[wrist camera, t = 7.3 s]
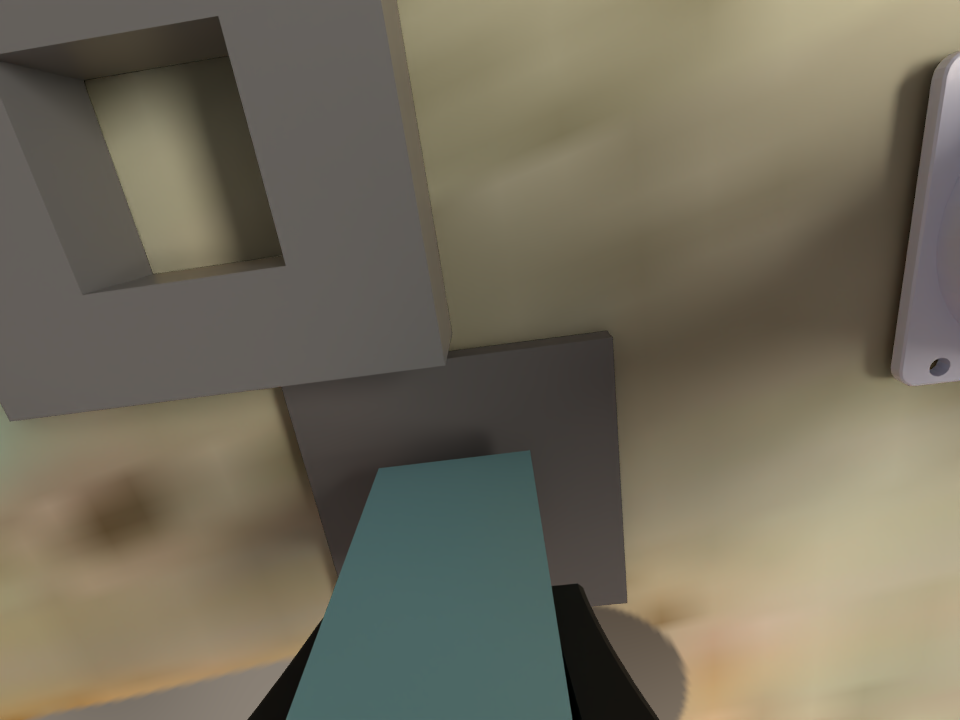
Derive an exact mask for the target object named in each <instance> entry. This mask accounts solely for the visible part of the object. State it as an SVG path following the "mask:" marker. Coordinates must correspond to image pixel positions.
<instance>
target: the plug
mask: <svg viewBox="0 0 960 720" xmlns="http://www.w3.org/2000/svg"><path fill="white" fill-rule="evenodd" d="M286 720H572V714H571V708H570V701H569V695H568V689H567V682H566V676H565V670H564V663H563V657H562V651H561V644H560V638H559V631H558V625H557V619H556V612H555V606H554V600H553V593H552V587H551V581H550V574H549V568H548V561H547V555H546V549H545V542H544V536H543V530H542V523H541V517H540V511H539V504H538V498H537V491H536V485H535V479H534V472H533V466H532V460H531V453H530V450H528V451H520V452H511V453H503V454H495V455H486V456H478V457H469V458H461V459H453V460H444V461H436V462H427V463H419V464H411V465H402V466H394V467H386V468H379V469H378V472H377V474H376V477H375V480H374V482H373V485H372V488H371V491H370V493H369V496H368V499H367V501H366V504H365V507H364V510H363V512H362V515H361V518H360V520H359V523H358V526H357V528H356V531H355V534H354V537H353V539H352V542H351V545H350V547H349V550H348V553H347V556H346V558H345V561H344V564H343V566H342V569H341V572H340V575H339V577H338V580H337V583H336V585H335V588H334V591H333V593H332V596H331V599H330V602H329V604H328V607H327V610H326V612H325V615H324V618H323V621H322V623H321V626H320V629H319V631H318V634H317V637H316V639H315V642H314V645H313V648H312V650H311V653H310V656H309V658H308V661H307V664H306V667H305V669H304V672H303V675H302V677H301V680H300V683H299V686H298V688H297V691H296V694H295V696H294V699H293V702H292V704H291V707H290V710H289V713H288V715H287V718H286Z"/></svg>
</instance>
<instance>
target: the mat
mask: <svg viewBox="0 0 960 720" xmlns="http://www.w3.org/2000/svg"><path fill="white" fill-rule="evenodd" d="M282 391H283V394H284V397H285V401H286V404H287V408H288V411H289V414H290V418H291V421H292V424H293V428H294V431H295V434H296V438H297V441H298V445H299V448H300V451H301V455H302V458H303V461H304V465H305V468H306V471H307V475H308V478H309V482H310V485H311V488H312V492H313V495H314V498H315V502H316V505H317V508H318V512H319V515H320V519H321V522H322V525H323V529H324V532H325V535H326V539H327V542H328V545H329V549H330V552H331V556H332V559H333V562H334V566H335V569H336V572H337V576H338V577H339V575H340V572H341V569H342V566H343V564H344V561H345V558H346V556H347V553H348V550H349V547H350V545H351V542H352V539H353V537H354V534H355V531H356V528H357V526H358V523H359V520H360V518H361V515H362V512H363V510H364V507H365V504H366V501H367V499H368V496H369V493H370V491H371V488H372V485H373V482H374V480H375V477H376V474H377V472H378V469H379V468H386V467H394V466H402V465H411V464H419V463H427V462H436V461H444V460H453V459H461V458H469V457H478V456H486V455H495V454H503V453H511V452H520V451H528V450H530V453H531V460H532V466H533V472H534V479H535V485H536V491H537V498H538V504H539V511H540V517H541V523H542V530H543V536H544V542H545V549H546V555H547V561H548V568H549V574H550V581H551V586H556V585H566V584H576V583H578V584H579V585H581V586H582V587H583V588H584V591H585V594H586V596H587V598H588V601H589V603H590V605H591V606H601V605H611V604H621V603H627V589H626V571H625V553H624V535H623V517H622V499H621V481H620V463H619V445H618V427H617V408H616V390H615V372H614V354H613V337H612V336H611V335H610V333H609V332H608V331H601V332H594V333H586V334H578V335H571V336H563V337H555V338H548V339H540V340H532V341H525V342H517V343H509V344H501V345H494V346H486V347H478V348H471V349H463V350H455V351H448V355H447V360H446V364H445V366H437V367H430V368H422V369H414V370H406V371H398V372H391V373H383V374H375V375H367V376H360V377H352V378H344V379H336V380H328V381H321V382H313V383H305V384H297V385H290V386H282Z"/></svg>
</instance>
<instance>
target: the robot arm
mask: <svg viewBox="0 0 960 720" xmlns="http://www.w3.org/2000/svg"><path fill="white" fill-rule="evenodd" d="M936 359H938V362H937V364H936V366H935V367H933V368H932V369H931V370H929V368H930V366H931V364H932V363H933V362H934V361H935V360H936ZM891 374H892V375H893V377H894V378H895V379H897V380H899V381H901V382H903V383H905V384H907V385H909V386H920V385H928V384H937V383H945V382H954V381H960V51H957V52H954V53H952V54H949V55H948V56H947V57H945V58H944V59H943V60H942V61H941V62H940V63H939V65H938V66H937V67H936V69H935V71H934V74H933V77H932V81H931V88H930V95H929V102H928V109H927V116H926V123H925V130H924V137H923V144H922V151H921V158H920V165H919V172H918V179H917V186H916V193H915V200H914V207H913V214H912V221H911V228H910V235H909V243H908V250H907V257H906V264H905V271H904V278H903V285H902V292H901V299H900V306H899V313H898V320H897V327H896V334H895V341H894V348H893V355H892V362H891ZM551 587H552V593H553V600H554V606H555V612H556V619H557V625H558V631H559V638H560V644H561V651H562V657H563V663H564V670H565V676H566V682H567V689H568V695H569V701H570V708H571V714H572V720H659V719H658V717H657V715H656V714H655V713H654V711H653V710H652V708H651V707H650V705H649V704H648V703H647V701H646V700H645V698H644V697H643V695H642V694H641V692H640V691H639V689H638V688H637V686H636V685H635V683H634V682H633V680H632V678H631V677H630V675H629V673H628V672H627V670H626V669H625V667H624V665H623V664H622V662H621V661H620V659H619V658H618V656H617V654H616V652H615V651H614V649H613V647H612V646H611V644H610V642H609V640H608V638H607V637H606V635H605V633H604V631H603V629H602V628H601V626H600V624H599V622H598V620H597V618H596V616H595V614H594V612H593V610H592V608H591V605H590V603H589V601H588V598H587V596H586V594H585V591H584V588H583V587H582V586H581V585H579V584H578V583H576V584H566V585H556V586H551ZM323 618H324V617H323ZM322 621H323V619H322V620H321V621H320V623H319V624H318V625H317V627H316V628H315V630H314V631H313V632H312V634H311V635H310V637H309V638H308V639H307V641H306V642H305V644H304V645H303V646H302V648H301V649H300V651H299V652H298V653H297V655H296V656H295V657H294V659H293V660H292V662H291V663H290V665H289V666H288V667H287V668H286V670H285V671H284V673H283V674H282V675H281V677H280V678H279V679H278V681H277V682H276V683H275V684H274V686H273V687H272V688H271V690H270V691H269V693H268V694H267V695H266V696H265V698H264V699H263V700H262V702H261V703H260V704H259V706H258V707H257V708H256V710H255V711H254V712H253V713H252V715H251V716H250V717H249V718H248V720H286V718H287V715H288V713H289V710H290V707H291V704H292V702H293V699H294V696H295V694H296V691H297V688H298V686H299V683H300V680H301V677H302V675H303V672H304V669H305V667H306V664H307V661H308V658H309V656H310V653H311V650H312V648H313V645H314V642H315V639H316V637H317V634H318V631H319V629H320V626H321V623H322Z"/></svg>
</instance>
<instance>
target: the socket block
mask: <svg viewBox="0 0 960 720" xmlns="http://www.w3.org/2000/svg"><path fill="white" fill-rule="evenodd" d="M223 56H229V58H230V61H231V65H232V69H233V72H234V76H235V80H236V83H237V87H238V91H239V95H240V98H241V102H242V106H243V109H244V113H245V117H246V120H247V124H248V128H249V132H250V135H251V139H252V143H253V146H254V150H255V154H256V157H257V161H258V165H259V169H260V172H261V176H262V180H263V183H264V187H265V191H266V194H267V198H268V202H269V206H270V209H271V213H272V217H273V220H274V224H275V228H276V231H277V235H278V239H279V243H280V246H281V250H282V254H283V255H282V256H275V257H268V258H261V259H254V260H247V261H241V262H234V263H227V264H220V265H213V266H206V267H199V268H192V269H185V270H178V271H171V272H164V273H158V274H153V273H152V270H151V267H150V264H149V262H148V259H147V256H146V253H145V251H144V248H143V245H142V242H141V239H140V237H139V234H138V231H137V228H136V226H135V223H134V220H133V217H132V214H131V212H130V209H129V206H128V203H127V201H126V198H125V195H124V192H123V190H122V187H121V184H120V181H119V178H118V176H117V173H116V170H115V167H114V165H113V162H112V159H111V156H110V154H109V151H108V148H107V145H106V142H105V140H104V137H103V134H102V131H101V129H100V126H99V123H98V120H97V117H96V115H95V112H94V109H93V106H92V104H91V101H90V98H89V95H88V93H87V90H86V87H85V84H84V81H83V80H88V79H94V78H100V77H105V76H111V75H117V74H123V73H129V72H135V71H141V70H147V69H153V68H158V67H164V66H170V65H176V64H182V63H188V62H194V61H200V60H205V59H211V58H217V57H223ZM451 337H452V329H451V323H450V317H449V311H448V305H447V299H446V293H445V287H444V281H443V275H442V269H441V263H440V257H439V251H438V245H437V239H436V233H435V227H434V221H433V215H432V209H431V203H430V197H429V191H428V185H427V179H426V173H425V167H424V161H423V155H422V149H421V143H420V137H419V131H418V125H417V119H416V113H415V107H414V101H413V95H412V89H411V83H410V77H409V72H408V66H407V60H406V54H405V48H404V42H403V36H402V30H401V24H400V18H399V12H398V6H397V0H0V403H1V405H2V407H3V409H4V411H5V413H6V415H7V417H8V419H9V421H17V420H25V419H33V418H41V417H48V416H56V415H64V414H72V413H79V412H87V411H95V410H103V409H111V408H118V407H126V406H134V405H142V404H150V403H157V402H165V401H173V400H181V399H188V398H196V397H204V396H212V395H220V394H227V393H235V392H243V391H251V390H258V389H266V388H274V387H282V386H290V385H297V384H305V383H313V382H321V381H328V380H336V379H344V378H352V377H360V376H367V375H375V374H383V373H391V372H398V371H406V370H414V369H422V368H430V367H437V366H445V364H446V360H447V355H448V350H449V346H450V341H451Z"/></svg>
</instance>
